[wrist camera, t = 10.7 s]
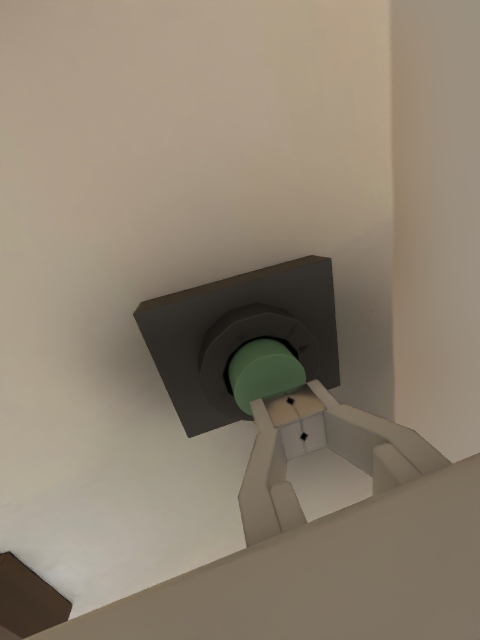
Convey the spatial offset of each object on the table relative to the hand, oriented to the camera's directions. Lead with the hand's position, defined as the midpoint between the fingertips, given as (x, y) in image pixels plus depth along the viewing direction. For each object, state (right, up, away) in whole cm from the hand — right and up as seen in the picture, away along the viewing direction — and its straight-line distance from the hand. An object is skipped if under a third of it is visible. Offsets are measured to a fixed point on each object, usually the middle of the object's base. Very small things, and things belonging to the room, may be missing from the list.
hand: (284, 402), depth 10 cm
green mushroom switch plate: (-1, +2, +6) cm, 7 cm away
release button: (-1, +1, +3) cm, 3 cm away
